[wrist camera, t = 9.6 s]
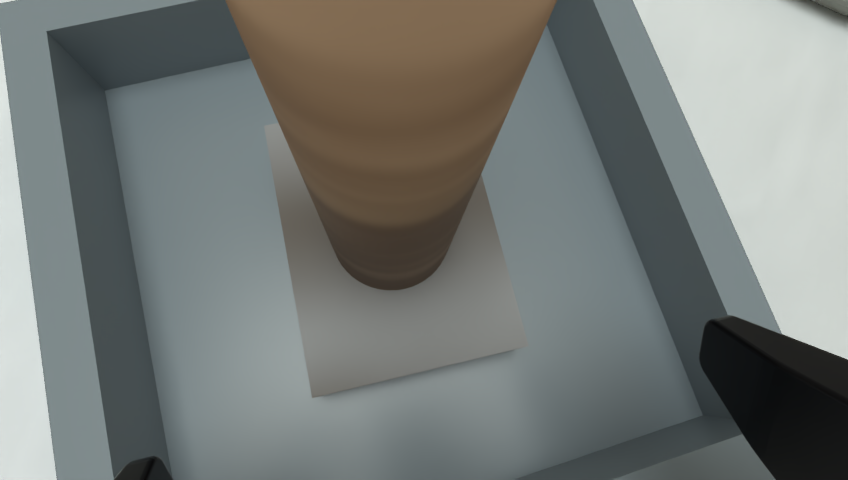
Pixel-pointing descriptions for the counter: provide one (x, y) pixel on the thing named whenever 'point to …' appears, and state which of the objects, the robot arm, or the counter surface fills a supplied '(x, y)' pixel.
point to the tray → (272, 287)
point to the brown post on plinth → (391, 175)
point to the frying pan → (835, 5)
